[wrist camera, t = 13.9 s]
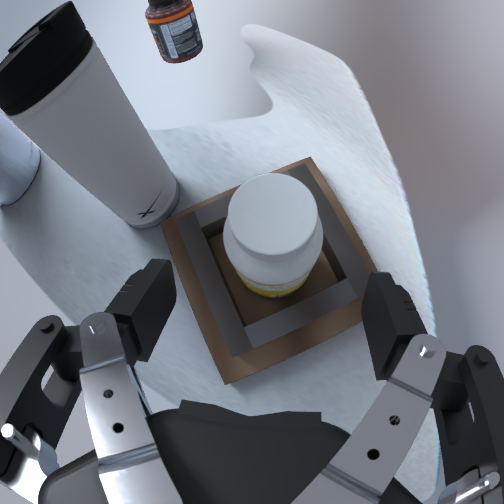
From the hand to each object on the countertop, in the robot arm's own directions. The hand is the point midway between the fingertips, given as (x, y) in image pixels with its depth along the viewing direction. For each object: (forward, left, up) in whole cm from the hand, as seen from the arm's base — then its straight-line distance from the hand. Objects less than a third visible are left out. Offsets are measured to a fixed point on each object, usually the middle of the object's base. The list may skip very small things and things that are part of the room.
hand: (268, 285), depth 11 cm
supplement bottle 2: (+2, +3, -10) cm, 11 cm away
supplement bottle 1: (+4, +35, -12) cm, 37 cm away
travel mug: (-6, +14, -12) cm, 19 cm away
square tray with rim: (+2, +3, -11) cm, 12 cm away
